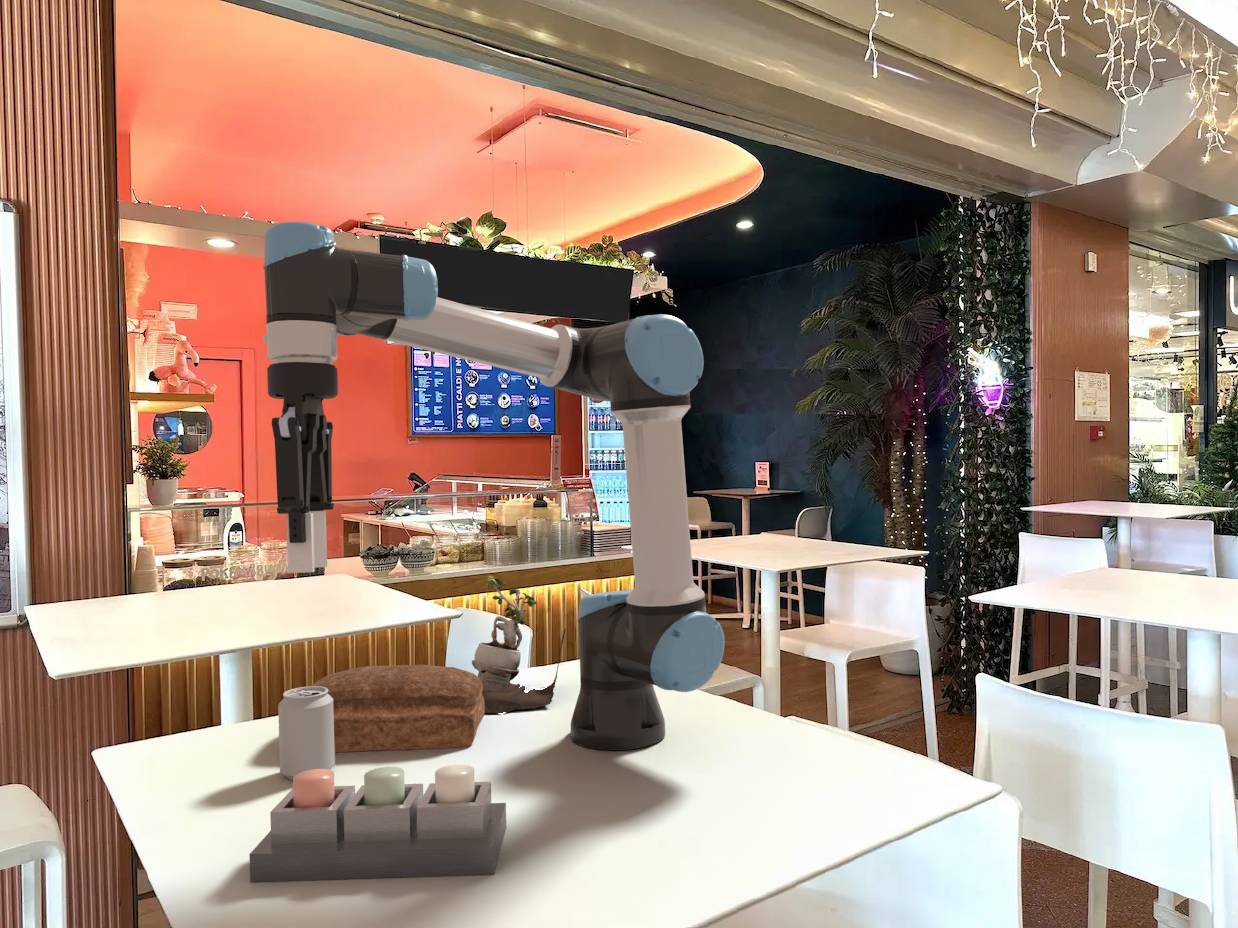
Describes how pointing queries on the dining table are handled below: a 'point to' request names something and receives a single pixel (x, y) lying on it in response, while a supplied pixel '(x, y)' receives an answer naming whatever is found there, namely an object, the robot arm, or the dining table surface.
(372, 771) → the button sage
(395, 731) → the bread
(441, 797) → the button ivory
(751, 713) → the dining table surface
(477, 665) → the potted plant
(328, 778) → the button coral
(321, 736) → the can
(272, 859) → the console
